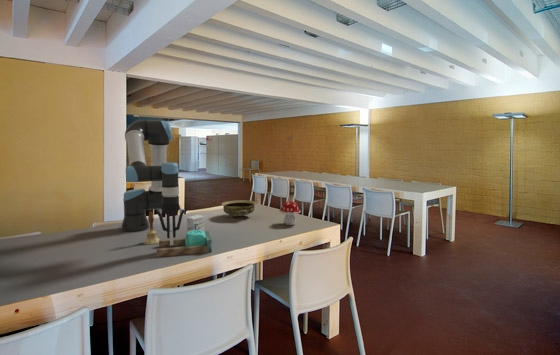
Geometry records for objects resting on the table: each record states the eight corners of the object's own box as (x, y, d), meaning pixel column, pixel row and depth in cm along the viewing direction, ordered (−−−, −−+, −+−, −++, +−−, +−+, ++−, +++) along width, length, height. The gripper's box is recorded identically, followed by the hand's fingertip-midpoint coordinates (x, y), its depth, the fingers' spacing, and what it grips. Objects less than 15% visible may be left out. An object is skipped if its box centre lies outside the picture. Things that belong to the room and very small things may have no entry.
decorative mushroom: (294, 220, 215) (294, 198, 213) (304, 225, 202) (304, 201, 201) (275, 222, 209) (275, 199, 207) (284, 227, 196) (285, 203, 195)
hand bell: (143, 245, 159) (142, 214, 158) (143, 240, 167) (142, 210, 165) (161, 243, 163) (160, 212, 161) (160, 239, 170) (159, 209, 169)
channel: (157, 256, 143) (156, 243, 143) (159, 246, 158) (159, 234, 158) (211, 252, 150) (211, 239, 150) (208, 242, 165) (208, 230, 165)
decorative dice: (206, 249, 154) (206, 233, 154) (190, 252, 150) (189, 235, 149) (201, 244, 161) (201, 229, 160) (185, 247, 157) (185, 231, 156)
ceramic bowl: (218, 213, 234) (218, 200, 233) (250, 211, 242) (250, 198, 241) (225, 223, 206) (225, 208, 205) (261, 220, 214) (261, 206, 213)
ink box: (198, 235, 178) (198, 214, 177) (205, 236, 175) (204, 215, 174) (186, 239, 171) (186, 217, 170) (193, 240, 168) (193, 218, 167)
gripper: (154, 197, 145) (156, 248, 147) (185, 196, 148) (185, 245, 151) (156, 194, 152) (157, 243, 154) (184, 193, 155) (185, 241, 158)
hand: (171, 244), depth 153 cm, fingers closed
